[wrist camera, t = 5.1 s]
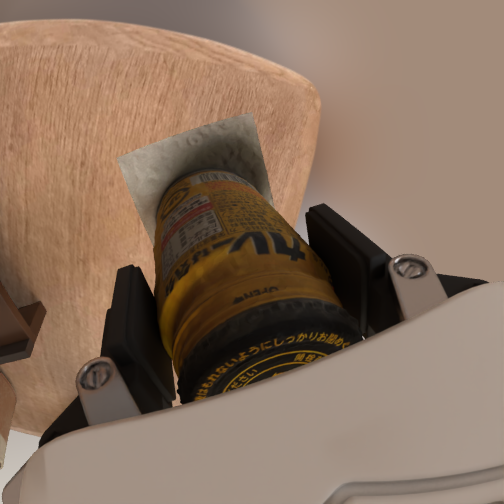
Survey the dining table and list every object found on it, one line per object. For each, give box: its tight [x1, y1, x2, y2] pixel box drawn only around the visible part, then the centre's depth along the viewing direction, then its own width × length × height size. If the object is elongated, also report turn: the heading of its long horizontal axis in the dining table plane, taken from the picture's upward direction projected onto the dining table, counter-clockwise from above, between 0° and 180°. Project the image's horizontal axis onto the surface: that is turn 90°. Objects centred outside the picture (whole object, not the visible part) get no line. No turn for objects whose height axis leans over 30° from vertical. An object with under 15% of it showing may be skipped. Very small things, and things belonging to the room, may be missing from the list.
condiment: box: [117, 112, 363, 405], centre depth 12 cm, size 7×8×12 cm
